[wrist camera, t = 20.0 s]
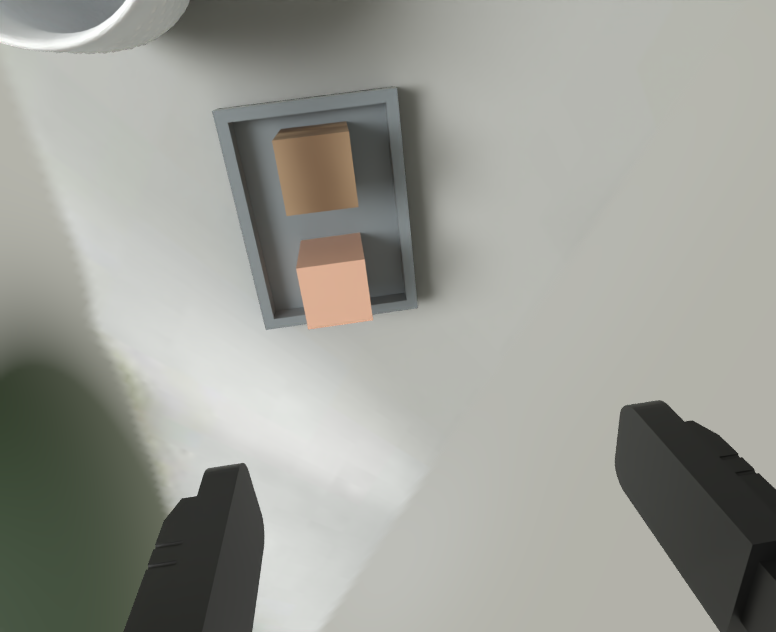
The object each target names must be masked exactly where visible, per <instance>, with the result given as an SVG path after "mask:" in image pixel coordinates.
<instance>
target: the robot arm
mask: <svg viewBox="0 0 776 632" xmlns="http://www.w3.org/2000/svg"><path fill="white" fill-rule="evenodd" d="M615 469H616V474H617V477H618V480H619V483H620V485H621V487H622V489H623V491H624V492H625V494H626V495H627V496H628V498H629V499H630V501H631V502H632V504H633V505H634V507H635V508H636V510H637V511H638V512H639V514H640V515H641V517H642V518H643V520H644V521H645V523H646V524H647V526H648V527H649V528H650V530H651V531H652V533H653V534H654V536H655V537H656V539H657V540H658V542H659V543H660V545H661V546H662V548H663V549H664V550H665V552H666V553H667V555H668V556H669V558H670V559H671V561H672V562H673V564H674V565H675V566H676V568H677V569H678V571H679V572H680V574H681V575H682V577H683V578H684V580H685V581H686V583H687V584H688V585H689V587H690V588H691V590H692V591H693V593H694V594H695V596H696V597H697V599H698V600H699V601H700V603H701V604H702V606H703V607H704V609H705V610H706V612H707V613H708V615H709V616H710V618H711V619H712V620H713V622H714V623H715V625H716V626H717V628H718V629H719V631H720V632H776V489H775V488H774V487H772V486H771V485H770V484H769V483H768V482H767V481H766V480H765V479H764V478H763V477H762V476H761V475H760V474H759V473H758V474H756V473H755V471H754V468H753V467H752V466H750V464H748V463H747V462H746V461H745V460H744V459H743V458H742V457H741V458H740V457H739V456H738V453H737V452H736V451H735V450H734V449H733V448H732V447H731V446H730V445H729V444H728V443H727V442H726V441H724V440H723V439H722V438H721V437H720V436H719V435H718V434H716V433H714V432H712V431H711V430H709V429H707V428H705V427H703V426H701V425H700V424H698V423H696V422H694V421H686V422H684V421H683V420H682V419H681V418H680V417H679V416H678V415H677V414H676V413H675V412H674V411H673V410H672V409H671V408H670V407H669V406H668V405H667V404H666V403H665V402H663V401H660V400H659V401H651V402H645V403H638V404H632V405H626V406H624V407H623V408H622V409H621V412H620V420H619V429H618V437H617V446H616V455H615ZM155 545H156V548H155V549H154V550H153V552H152V555H151V558H150V561H149V563H148V570H146V571H145V574H144V577H143V580H142V582H141V586H140V588H139V591H138V593H137V596H136V599H135V602H134V605H133V607H132V610H131V613H130V615H129V618H128V621H127V624H126V626H125V629H124V632H252V628H253V621H254V614H255V607H256V600H257V592H258V585H259V578H260V571H261V564H262V556H263V549H264V524H263V518H262V514H261V511H260V507H259V504H258V501H257V497H256V494H255V491H254V488H253V484H252V481H251V478H250V474H249V471H248V468H247V466H246V465H245V464H244V463H240V464H233V465H227V466H220V467H214V468H208V469H207V470H206V471H205V473H204V475H203V478H202V482H201V485H200V488H199V491H198V495H197V496H195V497H189V498H182V499H181V500H180V502H179V503H178V504H177V505H176V507H175V508H174V509H173V510H172V511H171V513H170V514H169V515H168V516H167V518H166V519H165V520H164V522H163V525H162V528H161V530H160V533H159V536H158V539H157V542H156V544H155Z"/></svg>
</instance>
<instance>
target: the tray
mask: <svg viewBox="0 0 776 632" xmlns="http://www.w3.org/2000/svg"><path fill="white" fill-rule="evenodd" d="M212 113H213V117H214V121H215V125H216V129H217V133H218V137H219V141H220V145H221V149H222V153H223V157H224V162H225V166H226V170H227V174H228V178H229V182H230V186H231V190H232V194H233V198H234V202H235V206H236V210H237V214H238V219H239V223H240V227H241V231H242V235H243V239H244V243H245V247H246V251H247V255H248V259H249V263H250V267H251V271H252V276H253V280H254V284H255V288H256V292H257V296H258V300H259V304H260V308H261V312H262V316H263V320H264V324H265V328H266V330H268V329H275V328H282V327H289V326H296V325H303V324H307V320H306V316H305V311H304V306H303V301H302V296H301V291H300V286H299V281H298V276H297V271H296V266H297V260H298V254H299V248H300V243H301V240H308V239H315V238H323V237H330V236H338V235H345V234H352V233H360V235H361V241H362V247H363V253H364V258H365V265H366V273H367V280H368V287H369V295H370V302H371V309H372V315H373V314H380V313H387V312H394V311H401V310H407V309H414V308H418V305H417V294H416V284H415V273H414V262H413V252H412V241H411V230H410V220H409V209H408V199H407V188H406V177H405V167H404V156H403V145H402V135H401V124H400V113H399V103H398V92H397V88H396V87H386V88H379V89H371V90H363V91H355V92H347V93H339V94H331V95H323V96H315V97H307V98H299V99H291V100H283V101H275V102H267V103H260V104H252V105H244V106H236V107H228V108H220V109H216V110H214V111H212ZM344 121H346V122H347V126H348V130H349V136H350V144H351V152H352V160H353V167H354V175H355V183H356V191H357V198H358V206H359V207H355V208H347V209H339V210H331V211H323V212H315V213H308V214H300V215H292V216H286V211H285V205H284V200H283V195H282V190H281V185H280V180H279V174H278V169H277V164H276V159H275V154H274V149H273V143H272V140H273V139H274V137H275V136H276V135H277V133H278V132H279V131H280V130H281V129H285V128H293V127H302V126H310V125H319V124H327V123H335V122H344Z"/></svg>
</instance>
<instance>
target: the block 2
mask: <svg viewBox="0 0 776 632" xmlns="http://www.w3.org/2000/svg"><path fill="white" fill-rule="evenodd" d="M296 271H297V276H298V281H299V286H300V291H301V296H302V301H303V306H304V311H305V316H306V320H307V325H308V329H315V328H322V327H329V326H336V325H343V324H350V323H357V322H364V321H371V320H373V317H372V309H371V302H370V295H369V287H368V280H367V273H366V265H365V258H364V253H363V247H362V241H361V235H360V233H352V234H345V235H338V236H330V237H323V238H315V239H308V240H301V243H300V248H299V254H298V260H297V266H296Z"/></svg>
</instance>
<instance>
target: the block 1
mask: <svg viewBox="0 0 776 632" xmlns="http://www.w3.org/2000/svg"><path fill="white" fill-rule="evenodd" d="M272 143H273V149H274V154H275V159H276V164H277V169H278V174H279V180H280V185H281V190H282V195H283V200H284V205H285V211H286V216H292V215H300V214H308V213H315V212H323V211H331V210H339V209H347V208H355V207H359V206H358V198H357V191H356V183H355V175H354V167H353V160H352V152H351V144H350V136H349V130H348V126H347V122H346V121H344V122H335V123H327V124H319V125H310V126H302V127H293V128H285V129H281V130H280V131H279V132H278V133H277V135H276V136H275V137H274V139H273V140H272Z"/></svg>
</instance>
